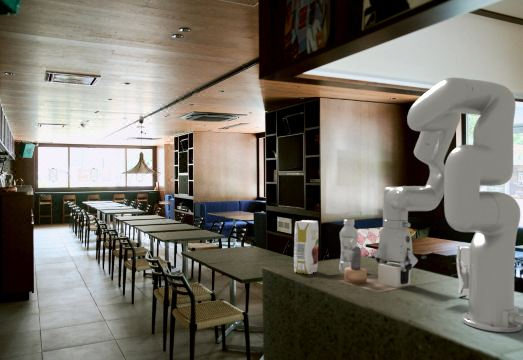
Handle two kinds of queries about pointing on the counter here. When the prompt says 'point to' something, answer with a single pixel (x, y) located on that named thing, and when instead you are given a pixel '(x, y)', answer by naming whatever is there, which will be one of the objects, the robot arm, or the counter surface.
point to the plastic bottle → (347, 243)
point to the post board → (375, 284)
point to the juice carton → (306, 246)
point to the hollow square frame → (391, 274)
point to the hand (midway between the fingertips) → (394, 280)
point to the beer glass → (463, 270)
